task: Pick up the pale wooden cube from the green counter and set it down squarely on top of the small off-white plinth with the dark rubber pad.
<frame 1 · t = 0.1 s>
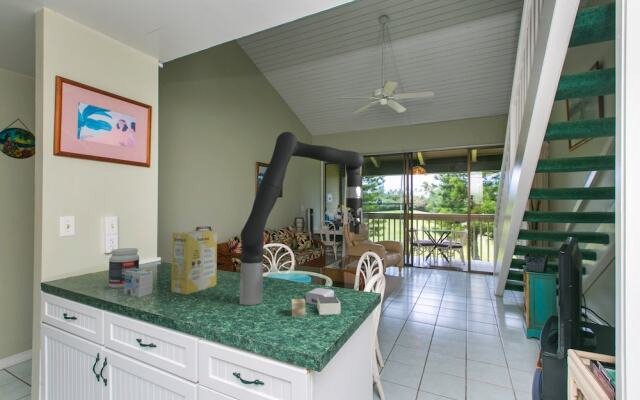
hand: (354, 233, 133), 29 cm above the worktop, tool pointing down, fingers open, 8 cm apart
wooden cube: (298, 314, 113), on the worktop
charger: (323, 300, 130), on the worktop
light bulb box: (138, 294, 136), on the worktop
yellow carton with handle: (194, 288, 147), on the worktop
supplement tub: (123, 285, 150), on the worktop
plinth: (328, 310, 116), on the worktop
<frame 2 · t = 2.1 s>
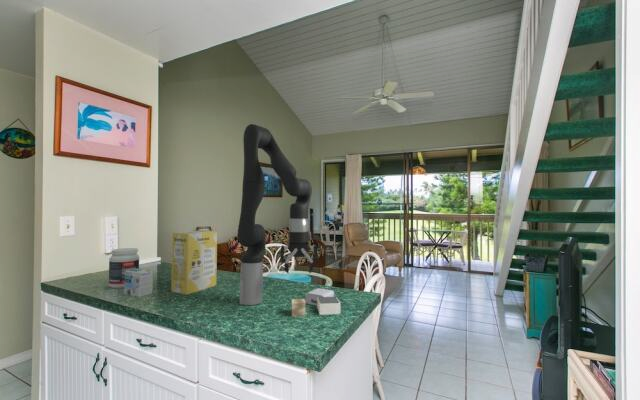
hand: (298, 272, 113), 16 cm above the worktop, tool pointing down, fingers open, 8 cm apart
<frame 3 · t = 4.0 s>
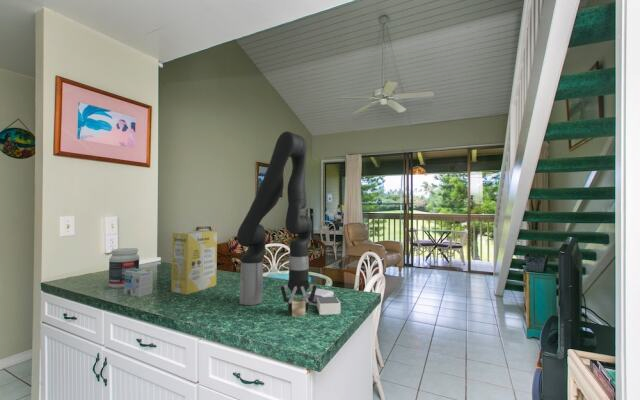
hand: (298, 312, 113), 1 cm above the worktop, tool pointing down, fingers closed on wooden cube, 5 cm apart
wooden cube: (298, 313, 113), on the worktop, touching gripper
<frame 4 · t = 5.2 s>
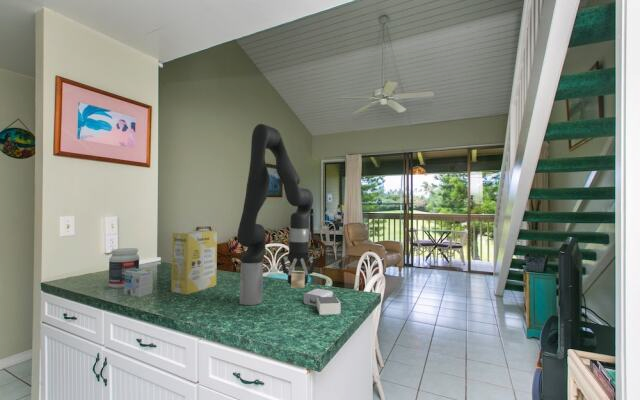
hand: (297, 284, 113), 11 cm above the worktop, tool pointing down, fingers closed on wooden cube, 5 cm apart
wooden cube: (297, 286, 113), point 10 cm above the worktop, touching gripper
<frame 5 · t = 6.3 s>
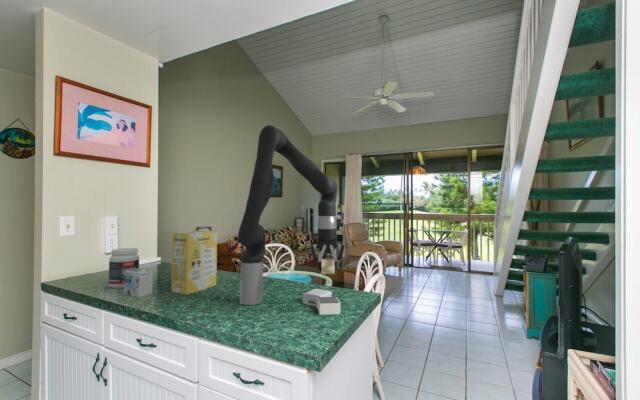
hand: (327, 270, 116), 16 cm above the worktop, tool pointing down, fingers closed on wooden cube, 5 cm apart
wooden cube: (327, 272, 116), point 15 cm above the worktop, touching gripper
when the fingers open (6 cm above the worktop, at t = 8.2 s): wooden cube drops 1 cm, resting on plinth.
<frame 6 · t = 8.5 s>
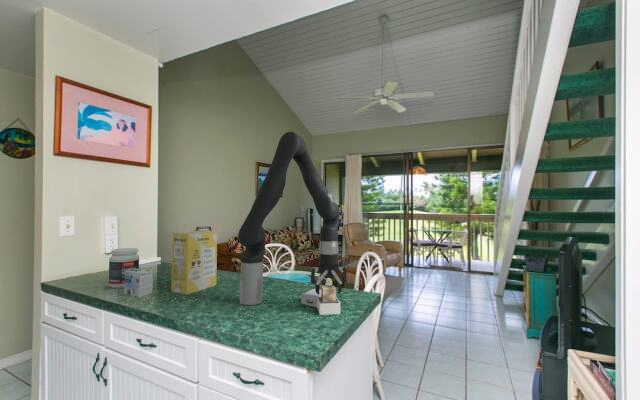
hand: (328, 293, 116), 7 cm above the worktop, tool pointing down, fingers open, 8 cm apart
wooden cube: (328, 299, 116), point 4 cm above the worktop, touching plinth
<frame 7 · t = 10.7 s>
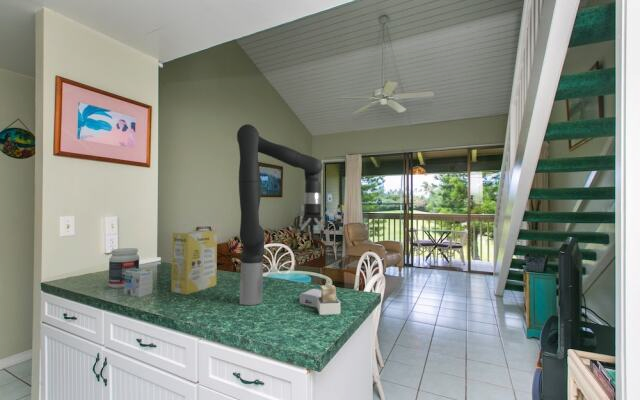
hand: (311, 238, 134), 26 cm above the worktop, tool pointing down, fingers open, 8 cm apart
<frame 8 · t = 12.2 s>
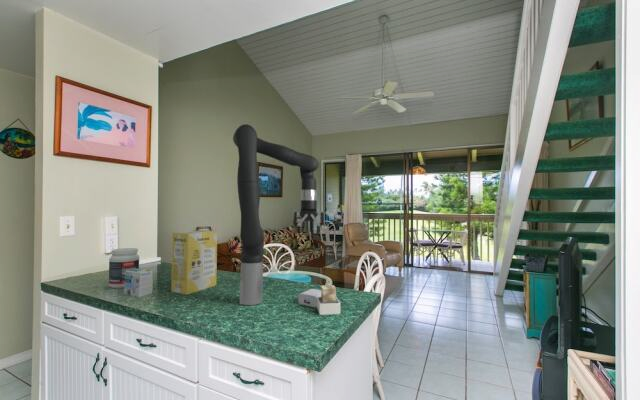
hand: (308, 234, 138), 28 cm above the worktop, tool pointing down, fingers open, 8 cm apart
at the end: wooden cube 0.0 cm off-centre on the plinth, point 4.3 cm above the plinth's base; wooden cube tilted 0°; the gripper is holding nothing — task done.
